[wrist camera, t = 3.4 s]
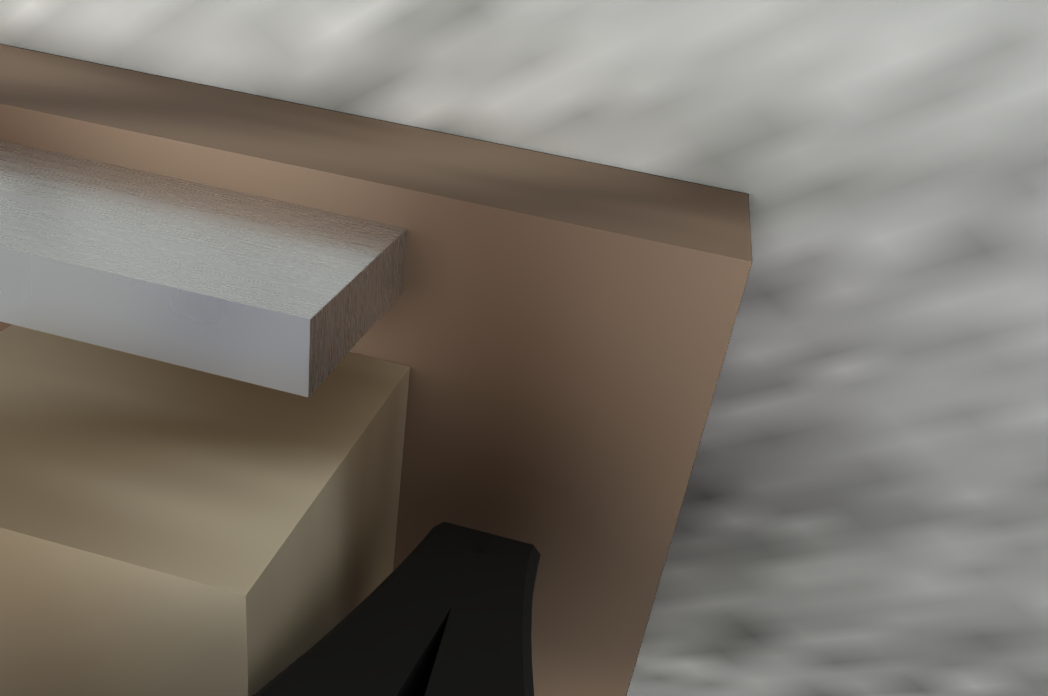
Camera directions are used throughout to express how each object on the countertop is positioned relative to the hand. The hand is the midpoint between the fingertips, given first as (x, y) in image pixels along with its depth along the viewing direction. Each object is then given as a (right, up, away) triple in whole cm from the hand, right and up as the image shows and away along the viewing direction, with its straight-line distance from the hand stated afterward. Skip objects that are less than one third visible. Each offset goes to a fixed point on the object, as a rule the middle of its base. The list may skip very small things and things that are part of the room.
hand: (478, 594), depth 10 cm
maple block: (-3, +1, +1) cm, 4 cm away
